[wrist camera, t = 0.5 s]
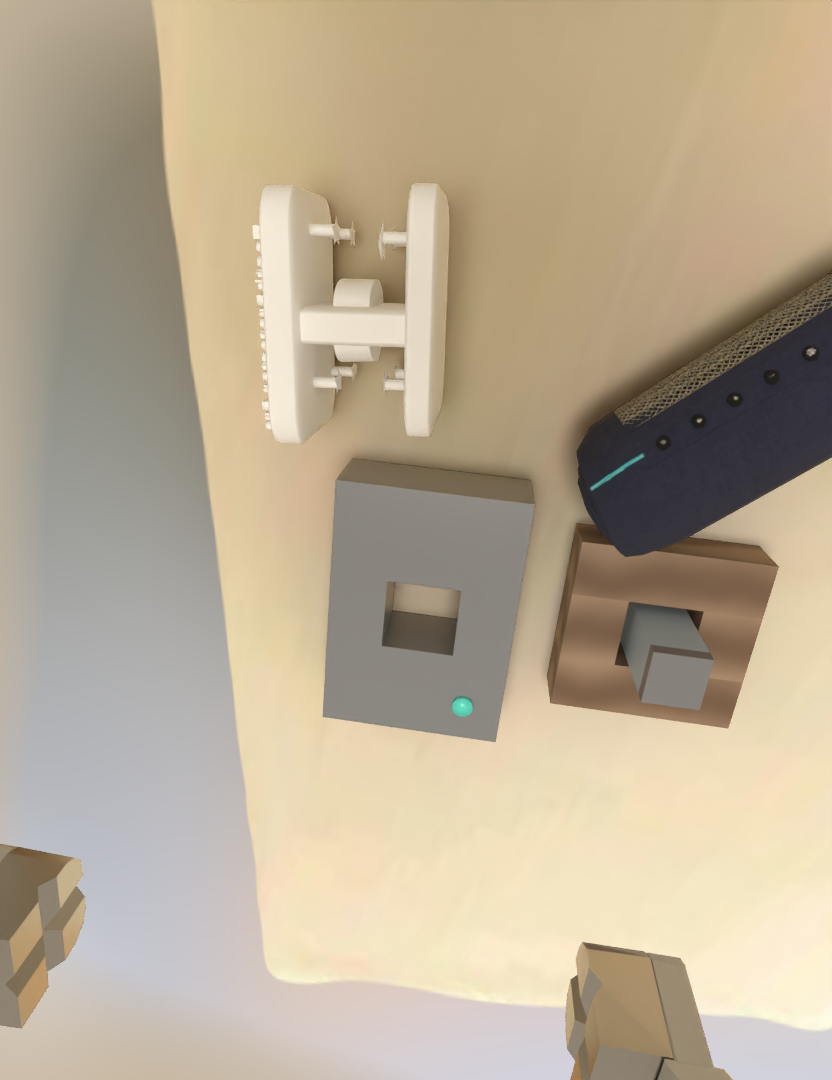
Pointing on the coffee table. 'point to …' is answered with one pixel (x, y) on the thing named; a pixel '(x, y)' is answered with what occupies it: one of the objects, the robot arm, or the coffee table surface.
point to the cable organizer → (347, 310)
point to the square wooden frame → (666, 580)
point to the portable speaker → (715, 430)
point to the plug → (666, 655)
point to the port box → (428, 560)
